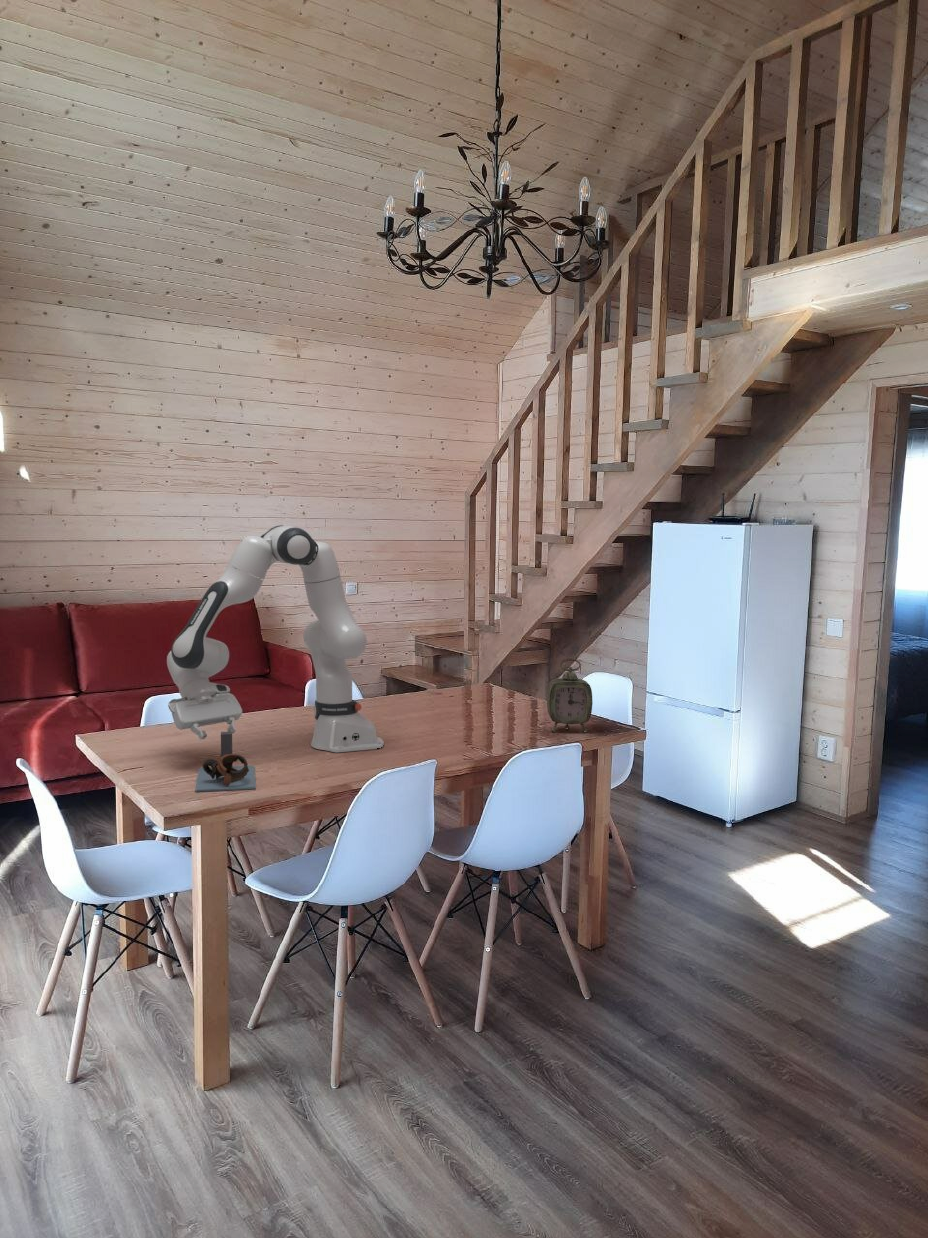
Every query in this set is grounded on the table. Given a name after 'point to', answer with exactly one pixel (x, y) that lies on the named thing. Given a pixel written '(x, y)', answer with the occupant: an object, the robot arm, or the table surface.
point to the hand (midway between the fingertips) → (218, 735)
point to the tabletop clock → (569, 699)
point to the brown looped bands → (226, 768)
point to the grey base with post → (215, 784)
